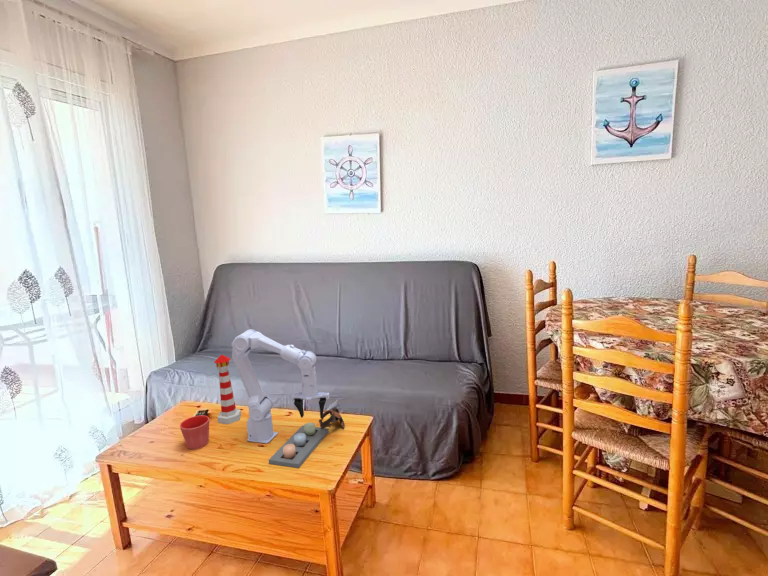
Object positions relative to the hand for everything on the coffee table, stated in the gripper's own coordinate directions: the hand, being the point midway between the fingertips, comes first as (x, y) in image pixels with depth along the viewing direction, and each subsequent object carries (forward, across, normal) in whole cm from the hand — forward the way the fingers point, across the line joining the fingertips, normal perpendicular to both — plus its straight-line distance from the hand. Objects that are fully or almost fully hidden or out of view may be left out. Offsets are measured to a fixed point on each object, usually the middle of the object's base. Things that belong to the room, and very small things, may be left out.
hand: (312, 416), depth 163 cm
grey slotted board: (+9, -4, -6) cm, 12 cm away
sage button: (+8, -2, +2) cm, 8 cm away
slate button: (+8, -4, -6) cm, 11 cm away
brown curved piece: (+10, +6, +9) cm, 14 cm away
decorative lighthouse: (+10, -42, +19) cm, 47 cm away
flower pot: (+10, -46, -2) cm, 47 cm away
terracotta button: (+8, -6, -14) cm, 17 cm away
